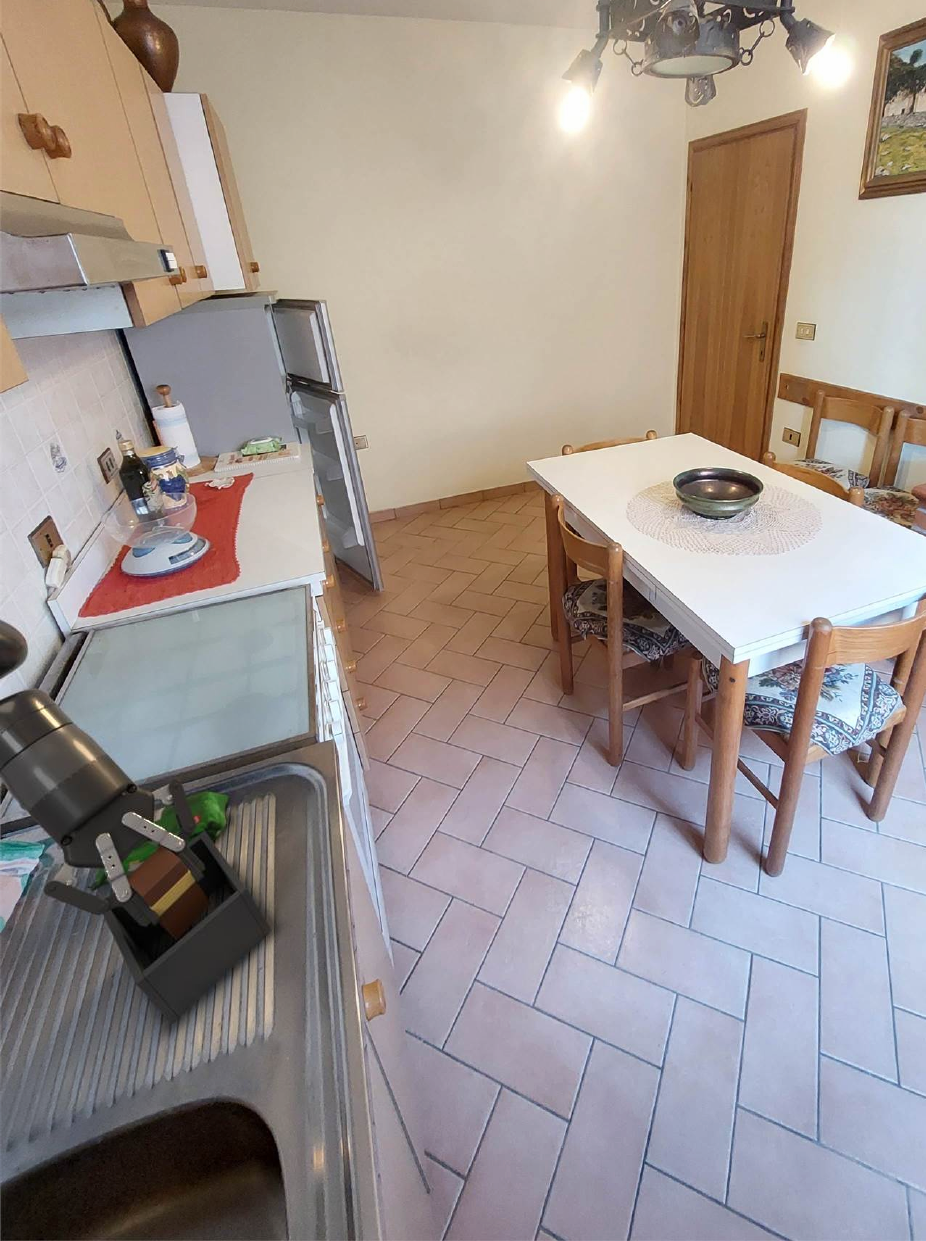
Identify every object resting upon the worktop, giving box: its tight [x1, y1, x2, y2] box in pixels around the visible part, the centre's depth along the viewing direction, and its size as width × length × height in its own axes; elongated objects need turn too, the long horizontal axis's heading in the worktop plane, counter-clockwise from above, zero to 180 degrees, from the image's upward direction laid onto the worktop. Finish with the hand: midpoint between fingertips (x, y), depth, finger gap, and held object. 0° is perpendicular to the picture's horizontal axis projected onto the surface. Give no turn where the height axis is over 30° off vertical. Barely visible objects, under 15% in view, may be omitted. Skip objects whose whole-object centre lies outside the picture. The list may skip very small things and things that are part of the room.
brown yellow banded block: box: [127, 846, 212, 940], centre depth 61 cm, size 4×4×8 cm
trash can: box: [102, 831, 272, 1025], centre depth 64 cm, size 11×11×10 cm
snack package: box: [87, 791, 229, 892], centre depth 76 cm, size 7×16×5 cm, turn 118°
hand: (179, 900), depth 60 cm, fingers closed on brown yellow banded block, 4 cm apart
